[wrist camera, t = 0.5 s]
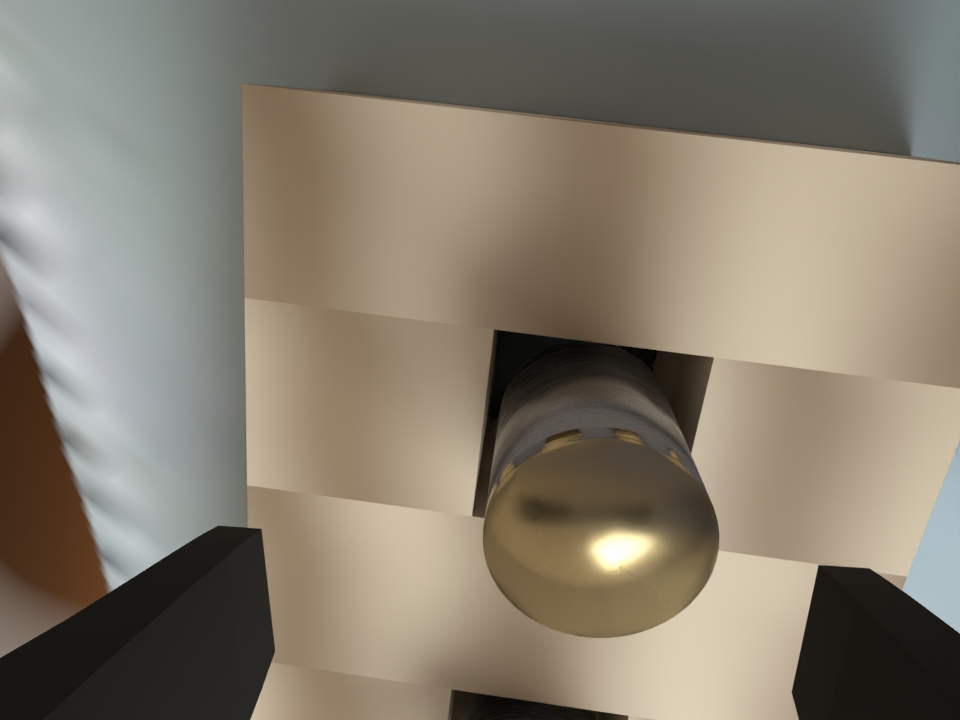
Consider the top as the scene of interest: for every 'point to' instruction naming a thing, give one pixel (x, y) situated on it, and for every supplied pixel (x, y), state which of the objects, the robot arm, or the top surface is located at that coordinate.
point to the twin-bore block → (587, 317)
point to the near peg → (595, 496)
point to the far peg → (520, 710)
